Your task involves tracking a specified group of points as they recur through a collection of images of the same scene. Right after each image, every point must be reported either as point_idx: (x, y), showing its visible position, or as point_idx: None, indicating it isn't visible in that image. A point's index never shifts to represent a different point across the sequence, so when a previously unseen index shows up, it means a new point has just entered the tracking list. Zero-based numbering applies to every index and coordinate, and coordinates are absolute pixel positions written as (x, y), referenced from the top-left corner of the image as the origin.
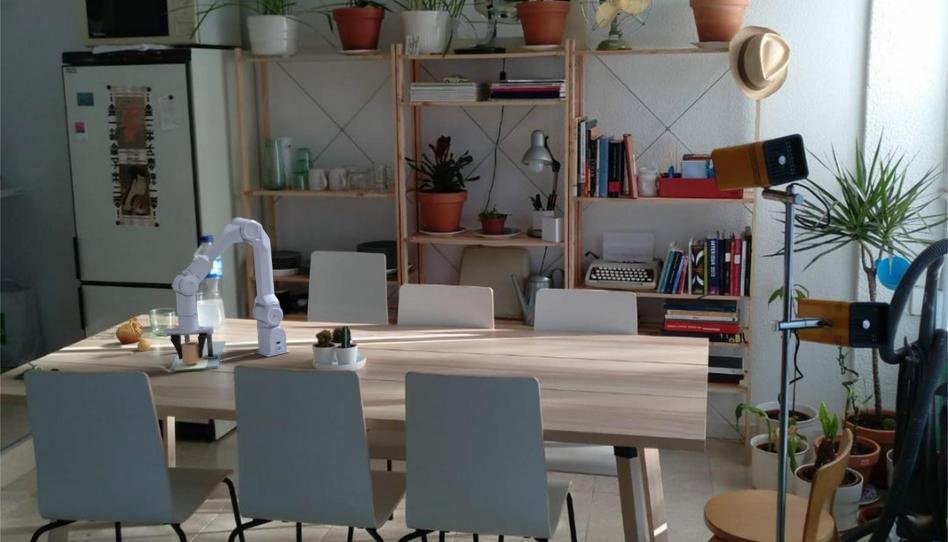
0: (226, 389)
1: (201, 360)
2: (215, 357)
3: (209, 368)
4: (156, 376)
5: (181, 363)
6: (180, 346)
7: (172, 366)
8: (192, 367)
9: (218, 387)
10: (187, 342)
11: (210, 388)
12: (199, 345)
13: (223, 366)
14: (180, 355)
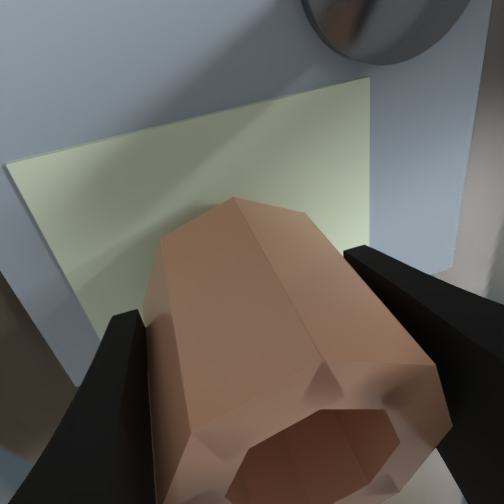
0: (460, 490)
1: (300, 122)
2: (453, 15)
3: None
4: (33, 462)
5: (106, 247)
6: (143, 476)
7: (50, 324)
8: None
9: (433, 485)
10: (244, 421)
11: (404, 499)
12: (451, 455)
13: (478, 200)
14: None
